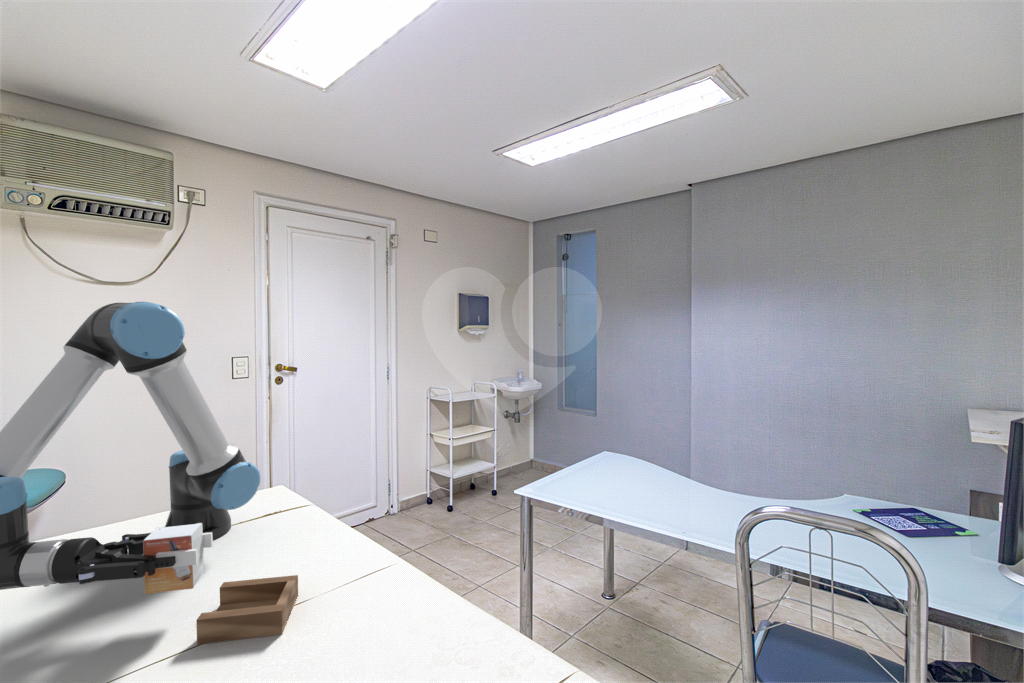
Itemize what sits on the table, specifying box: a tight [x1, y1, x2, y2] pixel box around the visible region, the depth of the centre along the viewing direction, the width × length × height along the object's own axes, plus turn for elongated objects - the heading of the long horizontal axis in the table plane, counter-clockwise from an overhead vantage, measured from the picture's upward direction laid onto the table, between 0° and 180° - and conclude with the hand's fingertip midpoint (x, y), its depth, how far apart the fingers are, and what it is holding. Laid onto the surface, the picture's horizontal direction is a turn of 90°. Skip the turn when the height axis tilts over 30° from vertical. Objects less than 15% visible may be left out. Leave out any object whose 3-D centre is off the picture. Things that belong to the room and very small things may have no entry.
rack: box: [196, 574, 299, 645], centre depth 90 cm, size 12×14×4 cm
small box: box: [143, 523, 205, 595], centre depth 89 cm, size 8×6×10 cm
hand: (204, 547), depth 90 cm, fingers closed on small box, 6 cm apart
